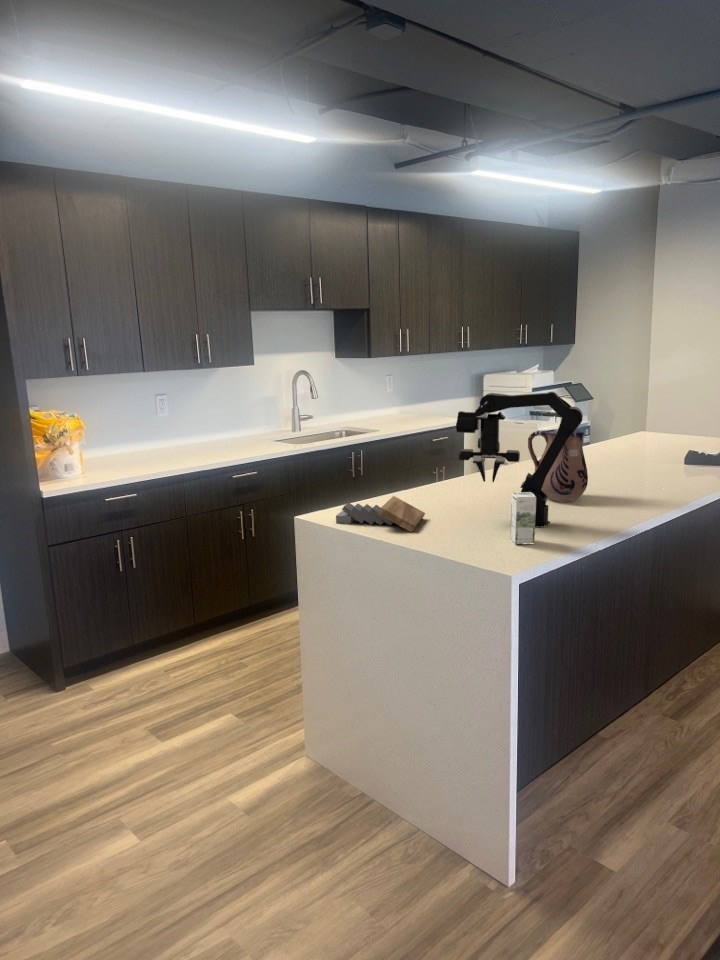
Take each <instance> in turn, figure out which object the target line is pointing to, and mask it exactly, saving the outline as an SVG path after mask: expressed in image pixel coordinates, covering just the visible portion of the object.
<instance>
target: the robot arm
mask: <svg viewBox="0 0 720 960" xmlns="http://www.w3.org/2000/svg"><path fill="white" fill-rule="evenodd" d="M540 406H548V407H550V408H551V409H552V410H553V411H554V412H555V413H556V414H557V415H559V417H561V419H560V423H559V425H558V428H557V429H558V431H557V434H556V436H555V437H554V439H553V441H552V443H551V445H550V446H549V448H548V450H547V452H546V453H545V455H544V457H543V459H542V461H541V462H540V464H539V466H538V468H537V470H536V471H535V470H534V472H533V473H532V474H531V473H530V472H528V473H527V475H526V476H525V480H523V482H522V483H521V484H520V488H521V491H520V492H531V493H533V494H534V495H535V497H536V515H535V527H536V526H539V527H538V528H542V527H541V526H543V527H545V526H547V525H549V524H551V521H549V505H548V504H547V500H548V496H547V495H546V494H545V493H544V492H543V491H542V490H541V489H542V487H543V484H544V481H545V478H546V476H547V474H548V472H549V471H550V469H551V467H552V465H553V464H554V462H555V460H556V458H557V456H558V455H559V453H560V451H561V449H562V448H563V446H564V444H565V442H566V441H567V439H568V438H569V437H570V436H571V434H572V433H573V432H574V431H577V428H578V427H579V426H580V425H581V423H582V421H583V416H584V415H583V411H582V410H581V409H580V408H579V407H577V406H571V404H570V403H568V402H567V401H566V400H565V399H563V398H562V397H560V396H559V395H558V393H557V392H555V391H549V392H539V393H538V392H537V393H527V394H524V393H523V394H513V395H511V394H506V393H505V394H504V393H495V392H489V393H487V394H485V395H484V396H482V397H481V398H480V401H479V406H478V408H477V409H475V411H473V412H472V411H461V410H459V411H458V412H457V419H456V422H455V424H456V425H455V428H456V433H457V434H458V433H459V434H475V433H476V431H479V430H480V437H478V439H477V448H478V449H480V450H479V451H474V449H473V448H462V449H461V450H460V451H459V452H458V460H459V461H469V460H470V459H471V458H472V460H473V461H472V463H473V464H475V465H476V467H477V468H478V471H479V472H480V475H481V479H482V481H483V483H484V482H486V470H485V459H495V461H494V463H493V468H492V469H493V470H492V478H491V479H492V483H494V482H495V479H496V477H497V474H498V470H499V469H500V466H501V465H504V464H505V463H506V461H507V462H513V463H518V462H520V459H521V458H520V457H521V451H519V450H518V449H517V450H515V449H511V450H510V449H507V450H506V452H500V450H501V449H500V447H501V445H500V439H499V438H500V436H499V435H500V421H504V420H505V419H506V416H505V415H504V414H503V413H502V411H504V410H506V409H511V408H512V409H513V408H523V407H524V408H525V407H526V408H528V407H529V408H530V407H540ZM496 412H498V413H496ZM484 414H487V416H484ZM548 523H549V524H548ZM546 524H547V525H546ZM544 525H545V526H544Z"/></svg>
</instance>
